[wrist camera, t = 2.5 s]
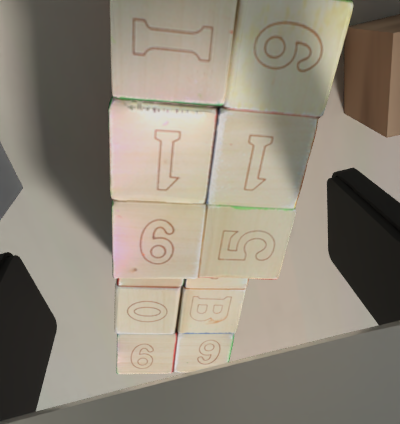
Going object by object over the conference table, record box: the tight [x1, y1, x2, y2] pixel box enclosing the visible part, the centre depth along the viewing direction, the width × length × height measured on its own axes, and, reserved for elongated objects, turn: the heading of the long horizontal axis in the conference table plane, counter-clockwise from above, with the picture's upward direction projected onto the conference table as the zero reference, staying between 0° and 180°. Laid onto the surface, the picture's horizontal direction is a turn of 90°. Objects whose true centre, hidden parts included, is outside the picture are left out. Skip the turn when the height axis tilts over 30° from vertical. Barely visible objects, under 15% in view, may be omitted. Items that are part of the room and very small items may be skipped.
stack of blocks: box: [108, 0, 353, 374], centre depth 18 cm, size 21×6×12 cm, turn 173°
